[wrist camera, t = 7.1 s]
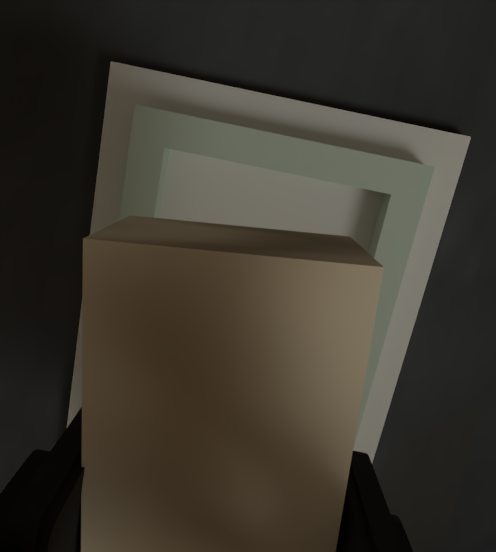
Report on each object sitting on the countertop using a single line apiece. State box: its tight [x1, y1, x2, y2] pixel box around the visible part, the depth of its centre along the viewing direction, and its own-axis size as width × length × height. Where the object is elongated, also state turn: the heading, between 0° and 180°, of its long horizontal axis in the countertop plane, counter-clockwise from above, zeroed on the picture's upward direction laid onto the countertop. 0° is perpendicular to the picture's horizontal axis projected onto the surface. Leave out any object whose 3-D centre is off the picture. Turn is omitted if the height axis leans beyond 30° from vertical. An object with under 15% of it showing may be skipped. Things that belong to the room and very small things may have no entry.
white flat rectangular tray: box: [67, 61, 471, 463], centre depth 19 cm, size 20×13×2 cm, turn 169°
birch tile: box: [81, 215, 384, 552], centre depth 11 cm, size 5×12×3 cm, turn 175°
